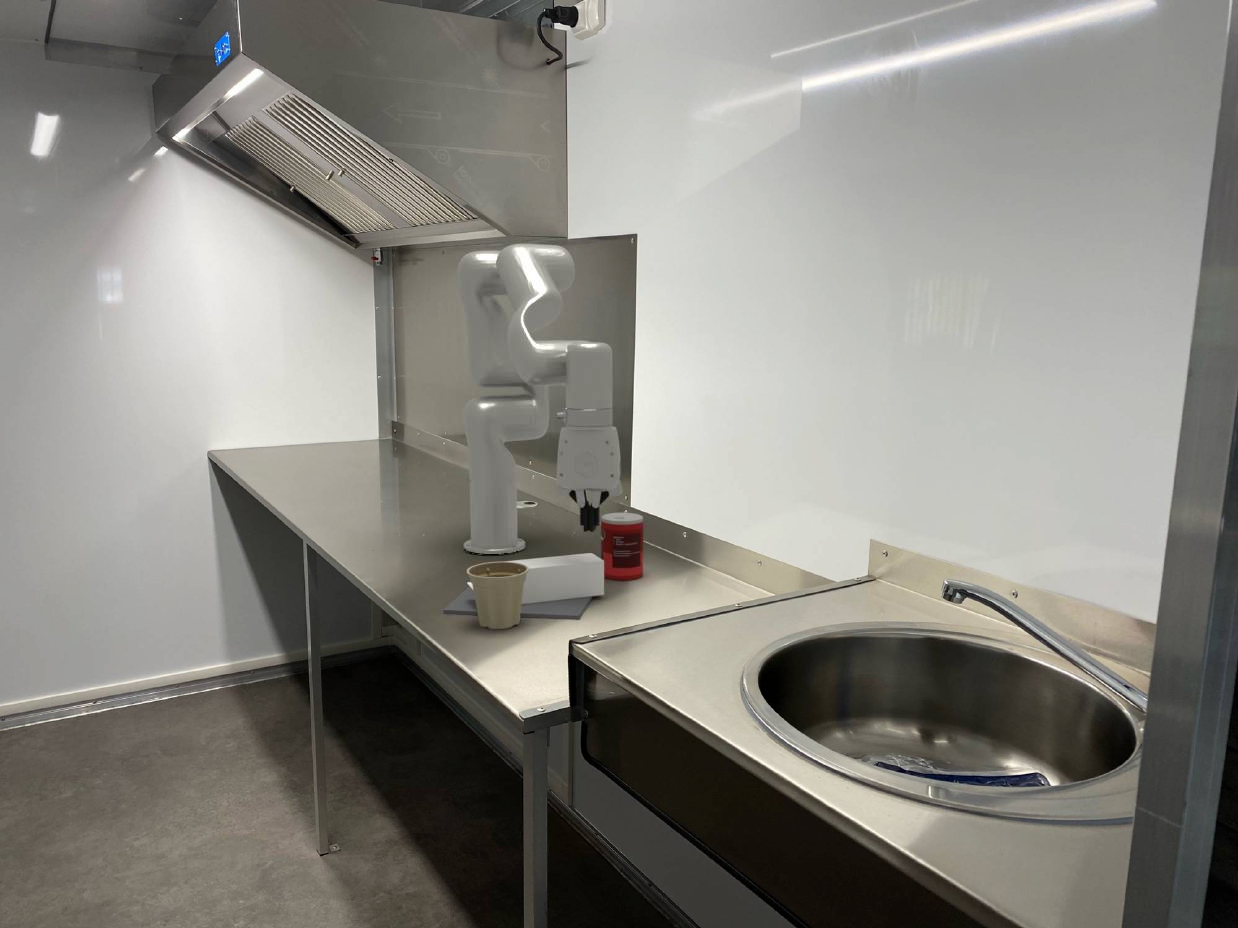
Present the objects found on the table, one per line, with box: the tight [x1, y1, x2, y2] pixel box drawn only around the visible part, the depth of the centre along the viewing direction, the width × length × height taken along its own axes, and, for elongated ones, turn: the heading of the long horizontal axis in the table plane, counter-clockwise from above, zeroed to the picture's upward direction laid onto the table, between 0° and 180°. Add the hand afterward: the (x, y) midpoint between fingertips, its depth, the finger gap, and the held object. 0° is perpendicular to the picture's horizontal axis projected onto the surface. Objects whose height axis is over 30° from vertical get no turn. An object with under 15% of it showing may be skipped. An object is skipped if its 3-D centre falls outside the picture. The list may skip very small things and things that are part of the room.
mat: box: [443, 585, 594, 620], centre depth 156 cm, size 20×22×1 cm
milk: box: [466, 552, 605, 605], centre depth 154 cm, size 6×6×22 cm
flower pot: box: [466, 561, 529, 630], centre depth 142 cm, size 9×9×9 cm
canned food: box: [600, 512, 645, 581], centre depth 170 cm, size 8×8×11 cm
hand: (589, 529), depth 152 cm, fingers closed
